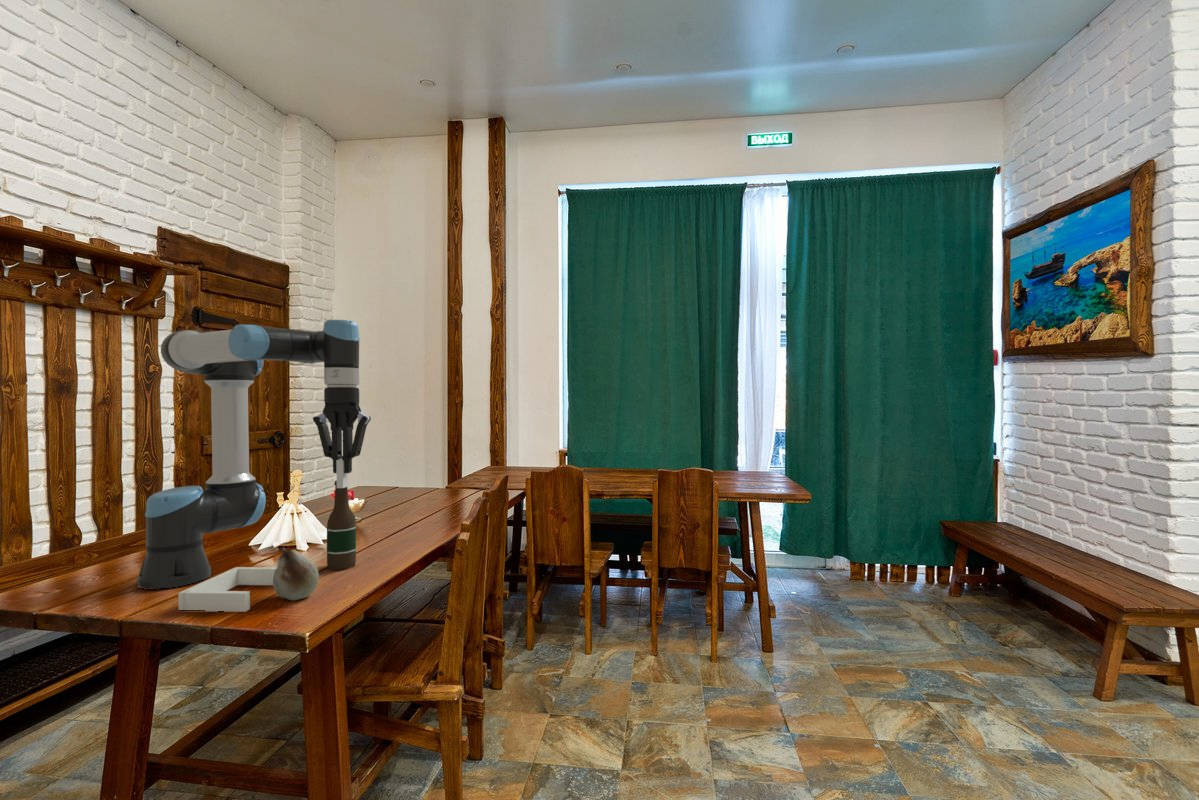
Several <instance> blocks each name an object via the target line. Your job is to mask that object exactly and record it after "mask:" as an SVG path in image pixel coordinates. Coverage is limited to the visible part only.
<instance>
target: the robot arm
mask: <svg viewBox="0 0 1199 800" xmlns="http://www.w3.org/2000/svg"><path fill="white" fill-rule="evenodd" d="M359 330H360V329H359V324H358V323H357V322H356V321H353V320H349V319H348V320H347V319H327V320H326V321H324V323H323V328H322V330H318V331H317V330H315V331H314V330H313V331H312V330H301V329H291V328H280V327H272V326H265V325H264V326H263V325H257V324H242V323H241V324H237V325H235V326H234V327H233V328H232V329H226V330H215V331H205V330H198V329H197V330H196V329H188V330H178V331H174V332H172V333H170V334H169V335H167V336H166V337H165V338H164V339H163V340H162V343H161V344H160V345H161V346H160V354H161V358H162V360H163V361H164V362H165V364H167V366H169V367H171V368H172V369H173V370H176V371H178V372H181V373H184V374H191V375H202V376H203V375H204V376H203V379H204V380H203V381H204V383H205V384H206V385H207V386H209V387H210V389H211V390H210V391H211V392H210V393H211V394H210V397H211V402H210V403H211V407H210V408H211V409H210V410H211V454H212V455H211V457H212V458H211V462H212V473H211V474H212V475H211V476H210V477H209V478H208V479H207V480H206V481H205V489H203V487H202V486H200V485H185V486H179V487H178V486H177V487H173V488H169V489H164V490H161V491H158V492H155V493H153V494H152V495H149V497H148V498H147V500H146V507H145V513H144V516H145V546H146V547H145V548H146V549H145V552H146V554H145V556H144V559H143V562H142V564H141V566H140V569H139V573H138V575H137V585H138V586H140V587H143V588H152V589H153V588H154V589H157V590H159V589H158V588H169V589H172V588H171V587H176V588H179V587H178V586H181V587H184V586H183V585H186V586H188V585H187V584H190V585H192V584H191V583H194V582H197V583H199V582H198V581H200V582H202V581H201V580H203V581H205V580H207V579H208V578H210V577H211V575H212V571H211V570H212V567H211V564H210V563H209V559H208V557H207V555H206V552H205V549H204V546H203V545H204V544H203V542H204V541H203V538H204V537H203V535H206V534H211V533H216V532H221V531H222V532H223V531H227V530H233V529H241V528H243V527H247V526H250V525H253V524H255V523H257V522H258V521H259V520H260V518H261V517H262V515H263V513H264V511H265V508H266V502H267V501H266V500H267V498H266V493H265V492H264V491H265V490H264V488H263V486H262V485H261V484H260V483H257V481H256V476H254V475H252V474H251V473H250V448H249V447H250V445H249V444H250V443H249V441H250V440H249V439H250V438H249V387H250V386H251V385H253V384H254V382H255V377H256V376H258V375H260V373H262V371H263V369H262V368H263V367H264V361H280V362H293V363H295V362H297V363H302V364H316V363H317V364H318V363H323V373H324V374H323V375H324V376H323V377H324V378H323V384H324V385H325V386H326V387H324V390H323V392H324V393H323V394H324V395H323V396H324V397H323V399H324V400H323V401H324V408H322V413H320V414H319V415H317V416H316V415H315V416H313V417H312V421H313V422H314V424H315V426H316V427H317V432H318V435H319V439H320V442H321V447H322V452H323V455H324V457H325V458H330V459H331V460H332V473H333V474H336V480H337V488H345V487H347V488H348V487H349V474H350V473H352V472H353V462H352V461H353V459H354V458H356V457H358V456H361V452H362V448H363V443H364V439H365V436H366V435H365V434H366V430H367V426H368V424H369V423H370V422H371V420H372V417H371V416H369V415H365V413H364V412H362V410H361V409H362V408H360V388H359V387H357V386H360V369H359V368H360V339H361V338H360V333H359ZM327 421H328V422H329V424H330V430H329V427H328V426H329V425H328V422H327ZM356 421H357V425H356V429H355V433H354V436H353V430H354V424H355V423H356ZM330 431H331V434H330ZM353 437H354V438H353ZM206 578H207V579H206ZM204 579H205V580H204ZM194 584H195V583H194ZM138 586H137V587H138Z"/></svg>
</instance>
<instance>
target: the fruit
mask: <svg viewBox="0 0 1199 800" xmlns="http://www.w3.org/2000/svg"><path fill="white" fill-rule="evenodd" d="M280 551H281V552H282V554H281V555H279V557H278V560H277V569H276V570H275V572H274V577H273V585H272V586H273V589H274V591H275V593H276V594H277V595H278V596H279V597H280V598H282V599H287V600H289V601H292V602H293V601H298V600H303V599H305V598H307V597H309V596H310V595H312V594H313V593H314V592H315V590H316V589H317V586H318V585H319V578H320V577H319V576H320V575H319V569H318V567H317V565H316V564H315V563H314V562H312V561H311V560H309V559H308V557H306V556H305V555H303V554H301V553H300V552H298V551H297V550H295V549H289V550H287V551H286V549H285V547H282V546H281V548H280Z"/></svg>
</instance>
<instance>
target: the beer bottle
mask: <svg viewBox="0 0 1199 800" xmlns="http://www.w3.org/2000/svg"><path fill="white" fill-rule="evenodd" d="M348 489H349V488H348V487H345V488H337V479H336V480H334V501H333V502H334V504H333V510H332V511H331V513H330V514H329V517H328V520H327V523H326V568H327V570H330V569H332V570H331V571H342V569H345V570H349V569H352V568H355V567H354V566H356V564H357V563H356V561H357V522H356V517H355V514H354V512H353V510H352V509H351V508H350V505H349V492H348V491H349V490H348ZM351 567H352V568H351ZM348 568H349V569H348Z"/></svg>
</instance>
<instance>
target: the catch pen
mask: <svg viewBox="0 0 1199 800" xmlns="http://www.w3.org/2000/svg"><path fill="white" fill-rule="evenodd" d="M276 569H277V567H273V566H272V567H270V566H269V567H267V566H265V567H263V566H261V567H260V566H253V567H252V566H249V567H248V566H238V567H237V566H236V567H233V568H231V569H229V570H227V571H225V572H223V573H220V574H218V575H215V576H214V577H211V578H209V579H205V580H203V581H201V582H199V583H196V585H193V586H191V587H189V588H186V589H184V590H182V591H179V592H178V611H179V610H205V611H204V612H218V611H224V612H225V613H226V612H227V613H229V612H233V613H236V612H237V613H239V612H240V613H241V612H243V613H246V612H248V611H249V610H250V609H251V598H250V597H251V594H250V593H251V591H250V590H244V591H243V590H230V589H232V588H235V587H236V586H273V577H274V572H275V570H276ZM224 612H223V613H224Z"/></svg>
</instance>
